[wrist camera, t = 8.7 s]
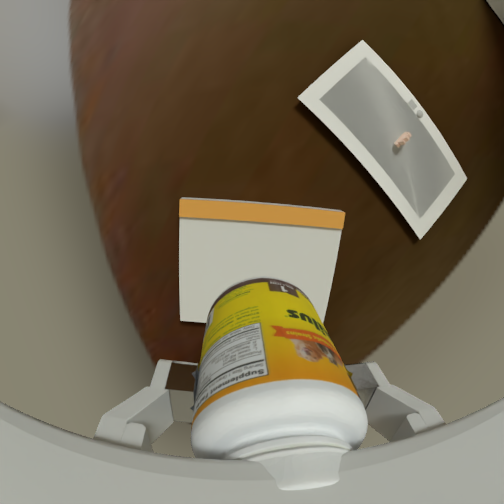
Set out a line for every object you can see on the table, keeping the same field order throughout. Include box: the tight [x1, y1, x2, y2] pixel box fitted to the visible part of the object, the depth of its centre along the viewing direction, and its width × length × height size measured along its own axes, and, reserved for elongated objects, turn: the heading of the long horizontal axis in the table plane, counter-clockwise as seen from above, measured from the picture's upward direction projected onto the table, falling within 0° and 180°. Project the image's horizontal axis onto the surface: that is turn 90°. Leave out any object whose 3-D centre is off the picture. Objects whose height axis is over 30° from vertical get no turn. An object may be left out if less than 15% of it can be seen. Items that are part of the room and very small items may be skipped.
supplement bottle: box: [191, 276, 368, 490], centre depth 10 cm, size 6×6×10 cm
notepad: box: [179, 197, 345, 323], centre depth 21 cm, size 12×10×1 cm
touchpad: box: [298, 40, 467, 239], centre depth 18 cm, size 8×15×2 cm, turn 48°
